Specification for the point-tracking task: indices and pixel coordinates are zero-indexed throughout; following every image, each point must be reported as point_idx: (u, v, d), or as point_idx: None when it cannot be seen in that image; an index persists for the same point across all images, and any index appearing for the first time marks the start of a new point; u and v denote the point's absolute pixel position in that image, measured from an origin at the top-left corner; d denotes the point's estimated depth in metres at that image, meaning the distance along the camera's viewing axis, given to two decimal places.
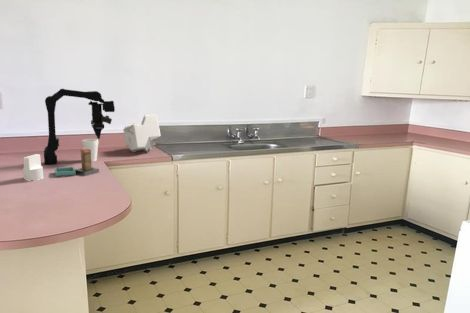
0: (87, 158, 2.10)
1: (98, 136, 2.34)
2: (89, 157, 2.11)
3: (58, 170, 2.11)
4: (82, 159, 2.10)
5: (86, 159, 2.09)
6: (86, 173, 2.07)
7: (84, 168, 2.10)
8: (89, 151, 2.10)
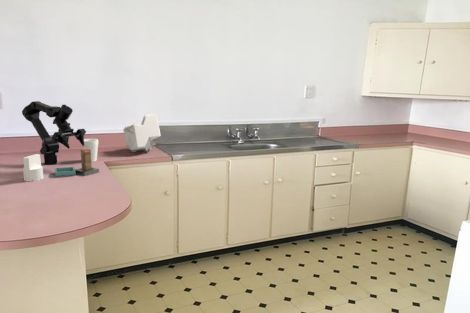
0: (87, 158, 2.10)
1: None
2: (89, 157, 2.11)
3: (58, 170, 2.11)
4: (82, 159, 2.10)
5: (86, 159, 2.09)
6: (86, 173, 2.07)
7: (84, 168, 2.10)
8: (89, 151, 2.10)
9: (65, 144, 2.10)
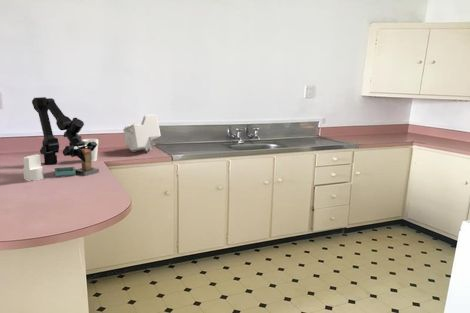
0: (87, 158, 2.10)
1: None
2: (89, 157, 2.11)
3: (58, 170, 2.11)
4: None
5: (86, 159, 2.09)
6: (86, 173, 2.07)
7: (84, 168, 2.10)
8: (89, 151, 2.10)
9: (81, 157, 2.09)
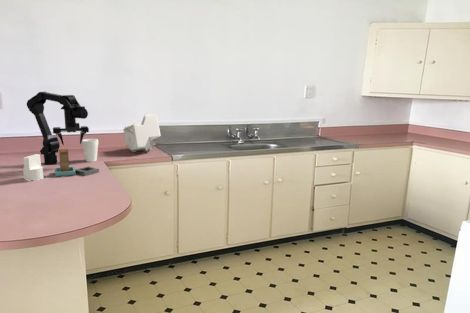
0: (64, 158, 2.05)
1: None
2: (66, 157, 2.06)
3: (58, 170, 2.11)
4: (60, 158, 2.07)
5: (62, 159, 2.05)
6: (86, 173, 2.07)
7: (61, 168, 2.07)
8: (66, 151, 2.05)
9: (81, 139, 2.24)
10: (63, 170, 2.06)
